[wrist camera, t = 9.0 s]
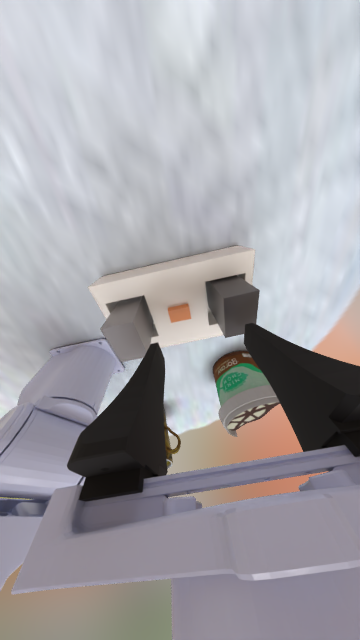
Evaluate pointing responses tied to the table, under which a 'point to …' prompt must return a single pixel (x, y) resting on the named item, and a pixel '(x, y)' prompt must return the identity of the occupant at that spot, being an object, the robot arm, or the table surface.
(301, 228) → the table surface
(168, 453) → the ceramic cup
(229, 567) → the robot arm
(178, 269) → the power strip
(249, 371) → the food container
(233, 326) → the dark grey square prism
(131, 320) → the charcoal plug
